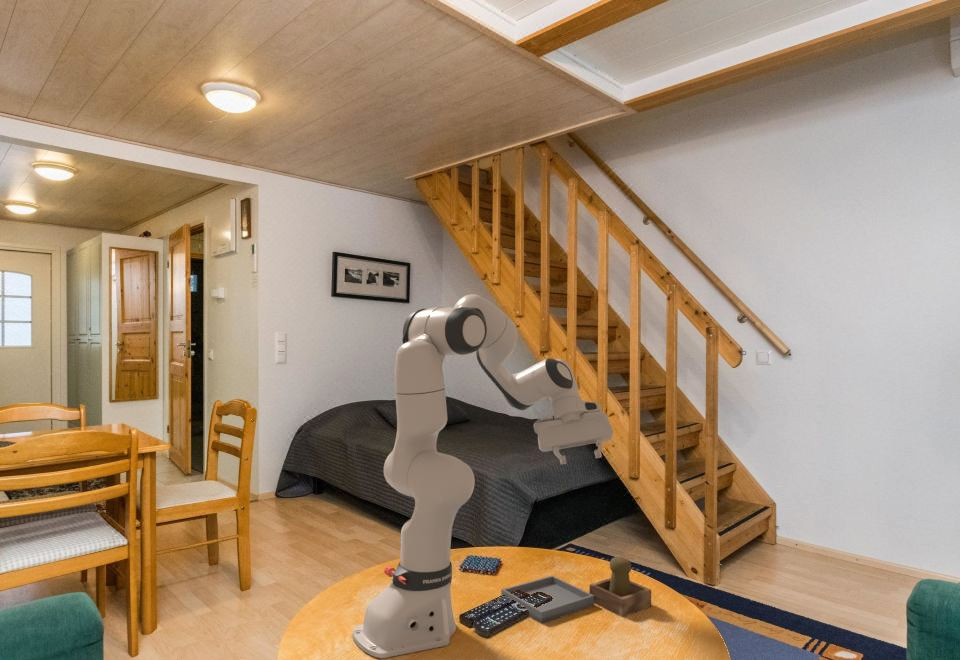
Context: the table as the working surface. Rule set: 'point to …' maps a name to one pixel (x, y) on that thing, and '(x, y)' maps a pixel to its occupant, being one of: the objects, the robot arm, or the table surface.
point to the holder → (621, 598)
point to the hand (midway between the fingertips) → (581, 460)
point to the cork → (620, 576)
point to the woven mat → (480, 564)
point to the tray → (563, 596)
